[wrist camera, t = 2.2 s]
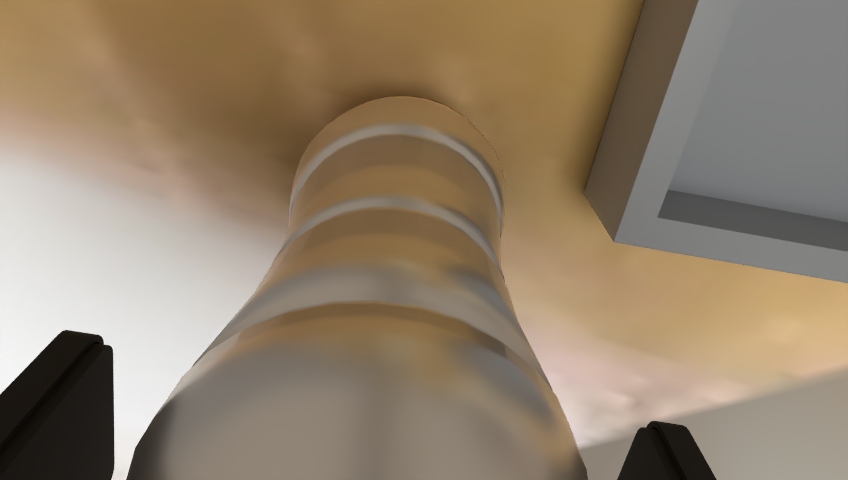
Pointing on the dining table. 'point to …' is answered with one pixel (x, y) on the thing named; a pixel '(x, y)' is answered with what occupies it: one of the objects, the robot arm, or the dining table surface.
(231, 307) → the dining table surface
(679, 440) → the robot arm
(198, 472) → the plastic bottle
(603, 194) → the grey bin
